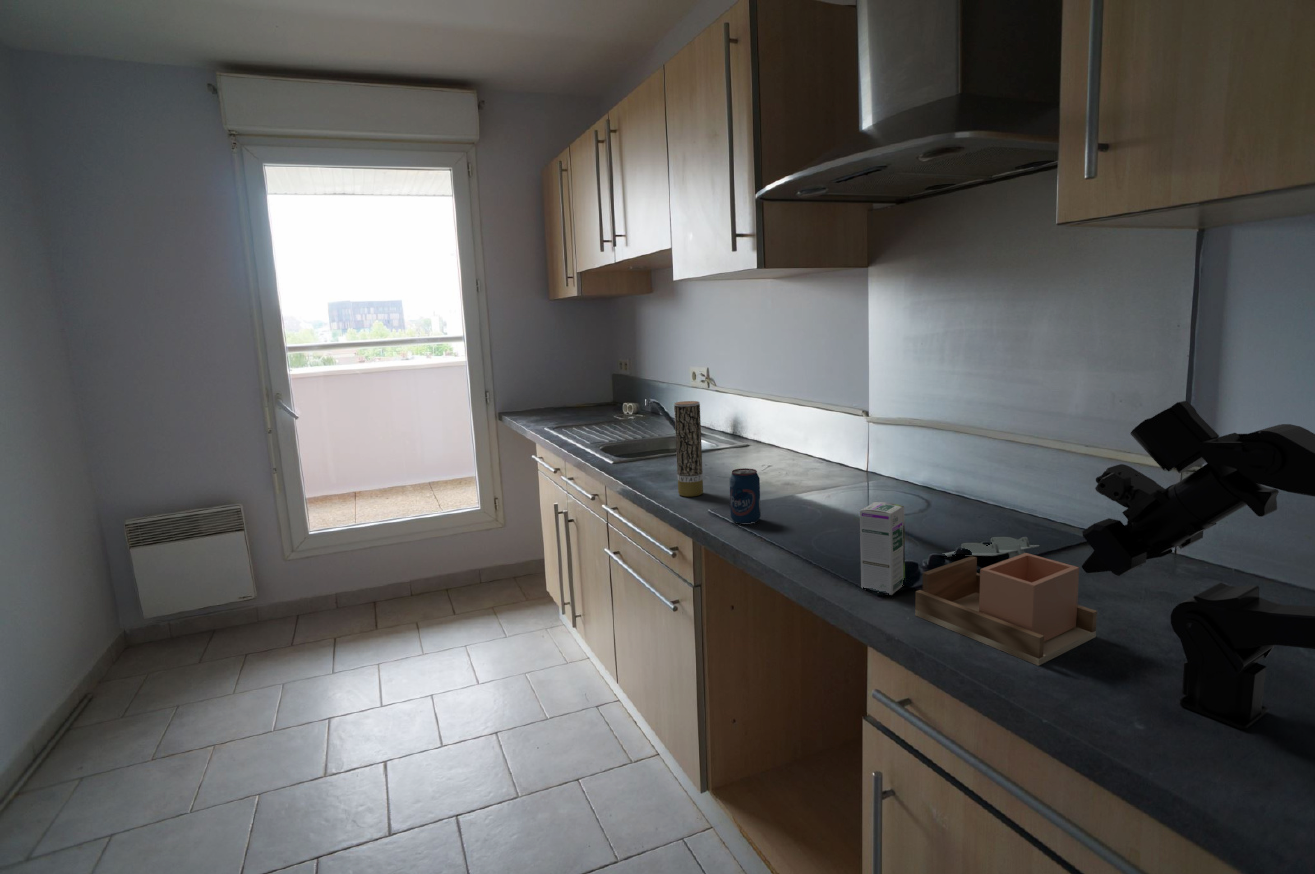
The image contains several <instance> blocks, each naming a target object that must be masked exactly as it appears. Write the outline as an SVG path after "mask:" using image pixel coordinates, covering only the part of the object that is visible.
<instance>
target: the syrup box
mask: <svg viewBox="0 0 1315 874" xmlns="http://www.w3.org/2000/svg"><path fill="white" fill-rule="evenodd" d="M905 514H906V513H905V506H904V505H902V504H897V503H892V502H885V501H884V502H881V501H878V502H877V501H873V502H872V503H871V504H869V505H867V506H865V507H863V508H862V509H860V510H859V526H860V527H859V529H860V530H859V537H860V540H859V541H860V586H861V589H863V587H864V588H873V589H876V590H879V591H886V592H887V593H889V596H893V595H894V594H895V593H896V592H897V591H898V590H900V589H901V588H902V587H903V586H904V585H903V580H904V578H905V579H906V562H905V561H906V545H905V544H906V543H905V542H906V537H905V536H906V534H905V533H906V532H905V531H906V530H905V523H906V522H905V518H906V517H905ZM902 585H903V586H902Z"/></svg>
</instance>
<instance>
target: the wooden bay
mask: <svg viewBox="0 0 1315 874" xmlns="http://www.w3.org/2000/svg"><path fill="white" fill-rule="evenodd" d="M977 566H978V557H977V556H973V555H969V556H968V557H965V558H962V559H959V560H956V561H953V562H950V563H947V564H944V565H941V566H938V567H935V568H933V569H930V570H927V571H923V572H922V589H919V590H916V591H915V603H914V604H915V606H914V607H915V609H914V610H915V611H914V614H915V616H916V617H918V618H921V619H923V620H925V621H928V622H931V623H932V624H935V625H938V626H941V627H943V628H945V629H947V630H949V631H953V632H955V633H957V634H960V635H963V636H965V637H968V638H969V639H972V640H975V641H976V642H979V643H982V644H984V645H987V646H988V647H991V648H994V649H996V650H999V651H1002V652H1004V653H1007V654H1009V655H1011V656H1013V657H1016V658H1019V659H1021V660H1023V661H1026V662H1029V663H1030V664H1034V665H1036V666H1041V665H1043V664H1045V663H1047V662H1049V661H1051V660H1053V659H1054V658H1057V657H1059V656H1061V655H1063V654H1065V653H1067V652H1069V651H1071V650H1073V649H1074V648H1077V647H1079V646H1080V645H1083V644H1084V643H1087V642H1088V641H1091V640H1092V639H1095V638H1096V635H1097V620H1098V618H1097V617H1098V611H1097V610H1095V609H1091V608H1089V607H1086V606H1083V605H1079V604H1077V618H1076V627H1074V628H1072V629H1070V630H1068V631H1066V632H1064V633H1062V634H1059V635H1057V636H1055V637H1053V638H1051V639H1049V640H1047V641H1045V642H1044V636H1043V635H1041V634H1038V633H1035V632H1032V631H1030V630H1027V629H1024V628H1022V627H1019V626H1016V625H1013V624H1011V623H1008V622H1005V621H1003V620H1000V619H997V618H995V617H992V616H989V615H986V614H984V613H981V612H979V597H980V572H979V573H978V572H977V568H978V567H977Z"/></svg>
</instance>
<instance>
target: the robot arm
mask: <svg viewBox="0 0 1315 874" xmlns="http://www.w3.org/2000/svg"><path fill="white" fill-rule="evenodd" d="M1130 436H1131V437H1132V438H1133V439H1134V440H1136V442H1137V443H1138V444H1139V445H1140V447H1142V449H1144V451H1146V452H1147V454H1148V455H1149V456H1150V457H1151V458H1152V460H1154V462H1155V463H1156V464H1157V465H1158V466H1159V467H1160V468H1161V469H1162V470H1163V471H1164V472H1166V471H1167V472H1168V473H1169V472H1171V471H1172V470H1173V471H1174V470H1176V472H1178V474H1182V473H1185V472H1187V471H1189V470H1190V469H1192V468H1194V467H1196V466H1197V465H1199V464H1201V463H1202V462H1204V461H1205V462H1206V464H1204V465H1202V466H1201V467H1200V468H1198V469H1196V470H1195V471H1194V472H1192V473H1190V474H1189V475H1187V476H1186V477H1185V478H1183V479H1182V480H1180V481H1178V482H1176V483H1173V484H1170V485H1169V486H1168V487H1166V488H1165V487H1163V486H1161V485H1160V484H1159V483H1157V482H1156V481H1155V480H1153V479H1152V478H1150V477H1149V476H1147V475H1145V474H1143V472H1140V471H1138V470H1136V469H1135V468H1133V467H1132V466H1131V465H1127V464H1122V463H1121V464H1116V465H1113V466H1110V467H1109V466H1108V467H1107V469H1106V470H1105V471H1104V472H1102V474H1101V475H1098V476H1097V477H1096V478H1095V482H1096V483H1097V485H1096V486H1095V488H1094V489H1095V491H1096V492H1097V493H1098V494H1100V495H1102V496H1104V497H1106V498H1107V499H1109V500H1111V501H1112V502H1116V503H1118V504H1119V505H1120V506H1122V507H1124V508H1126V509H1125V510H1123V511H1122V512H1121V514H1122V515H1123V516H1125V518H1126V519H1127V521H1126V524H1123V522H1122V521H1121V520H1119V519H1115V518H1106V519H1103V520H1101V521H1097V522H1094V523H1093V524H1091V525H1089V526H1088V527H1087V528H1085V529H1084V530H1082V531H1081V532H1082V537H1083V539H1085V541H1086V542H1087V543H1088V545H1089V546H1090V547H1091V548H1092V550H1093V551H1092V552H1091V554H1090V555H1089V556H1088V557H1087V559H1086V560H1085V561H1084V562H1083V564H1082V565H1081V569H1083V571H1084V572H1085V573H1086V574H1092V573H1093V574H1094V573H1095V574H1096V573H1105V572H1106V573H1107V572H1111V573H1112V574H1114V575H1115V576H1118V577H1120V576H1122V575H1124V574H1127V573H1129V572H1131V571H1132V570H1135V569H1138V568H1139V567H1140V568H1141V567H1142V566H1143V565H1144V564H1146V563H1147V560H1152V559H1157V558H1163V557H1165V556H1167V555H1169V554H1172V553H1173V549H1174V548H1177V547H1178V548H1179V549H1180V550H1182V549H1185V548H1186V547H1189V546H1191V545H1193V544H1194V543H1196V542H1198V541H1199V540H1201V539H1203V538H1204V531H1206V530H1209V529H1210V528H1212V527H1214V526H1216V525H1217V524H1218V523H1219V522H1220V521H1221V520H1224V519H1225V518H1226V517H1228V516H1230V515H1232V514H1233V513H1235V512H1237V511H1239V510H1241V509H1242V508H1244V507H1246V506H1247V507H1248V508H1249V509H1250V510H1251V511H1252V512H1253V513H1254V514H1255V515H1256V516H1258V517H1260V518H1261V517H1265V516H1267V515H1269V514H1272V513H1273V512H1276V511H1277V510H1278V502H1277V496H1278V494H1279V490H1281V491H1283V492H1287V493H1290V494H1291V493H1292V494H1296V495H1297V494H1298V495H1302V496H1308V497H1309V496H1310V497H1315V433H1314V432H1312V431H1310V430H1309V429H1307V428H1305V427H1302V426H1300V425H1295V424H1292V423H1281V424H1277V425H1274V426H1269V427H1267V428H1263V429H1259V430H1257V431H1253V432H1252V431H1251V432H1249V433H1236V432H1232V433H1229V434H1225V435H1222V436H1220V434H1219V433H1217V432H1216V431H1215V430H1214V428H1212V427H1211V426H1210V425H1209V423H1208V422H1207V421H1205V420H1204V419H1203V418H1202V417H1201V416H1200V415H1199V413H1198V412H1197V410H1196V408H1194V406H1193V405H1192V404H1191V403H1190V402H1189V401H1188V400H1183V401H1178V402H1176V403H1174V404H1173V405H1172V406H1170V407H1168V408H1166V409H1164V410H1162V411H1161V412H1158V413H1156V414H1155V415H1153V416H1152V417H1150V418H1146V419H1144V420H1143V421H1142V422H1140V423H1139V424H1137V426H1135V427H1134V428H1133V429H1132V430H1131V432H1130ZM1170 624H1171V627H1172V630H1173V632H1174V633H1175V635H1176V636H1177V637H1178V639H1179V640H1180V643H1181V646H1182V649H1183V652H1184V656H1185V659H1186V661H1185V662H1184V664H1183V674H1182V675H1183V676H1182V684H1181V685H1182V689H1181V693H1182V695H1184V696H1183V697H1182V698H1181V699H1179V702H1178V703H1179V705H1180V706H1182V707H1184V708H1187V709H1189V710H1192V711H1194V712H1197V713H1199V714H1202V715H1205V716H1207V717H1210V718H1211V719H1213V720H1214V719H1215V720H1217V721H1219V722H1222V723H1225V724H1227V725H1230V726H1233V727H1235V728H1237V729H1240V730H1247V729H1248V728H1249V727H1250V726H1252V725H1253V724H1254V723H1256V722H1257V721H1258V720H1260V719H1261V718H1262V717H1263V716H1264V715H1266V714H1267V713H1268V712H1269V711H1268V710H1269V709H1268V707H1267V706H1264V705H1263V697H1264V690H1265V689H1264V688H1265V680H1266V671H1267V670H1266V669H1267V666H1266V665H1264V664H1261V663H1259V661H1261V660H1263V659H1265V658H1267V657H1269V655H1270V654H1271V653H1272V651H1273V649H1274V648H1275V646H1282V647H1291V648H1301V649H1312V650H1315V606H1308V605H1307V606H1306V605H1292V604H1291V605H1290V604H1280V603H1275V602H1273V601H1270V600H1268V599H1265V598H1263V597H1260V586H1259V585H1244V586H1233V585H1228V584H1226V583H1222V582H1219V583H1217V584H1215V585H1212V586H1211V587H1209V588H1208V589H1206V590H1203V591H1201V592H1199V593H1197V594H1195V595H1194V596H1191V597H1189V598H1187V599H1186V600H1183V601H1182V602H1179V603H1178V604H1177V605H1176V606H1175V607H1173V609H1172V611H1171V614H1170Z"/></svg>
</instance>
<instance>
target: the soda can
mask: <svg viewBox="0 0 1315 874" xmlns="http://www.w3.org/2000/svg"><path fill="white" fill-rule="evenodd" d="M760 484H761V483H760V476H759V475H758V471H757V470H756V469H754V468H737V469H733V470H731V475H730V477H729V504H730V505H729V506H730V507H729V508H730V518H731V520H732V521H733V523H734V522H737V523H751V522H757V521H758V522H759V520H760V518H761V485H760ZM758 522H757V523H758Z"/></svg>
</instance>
